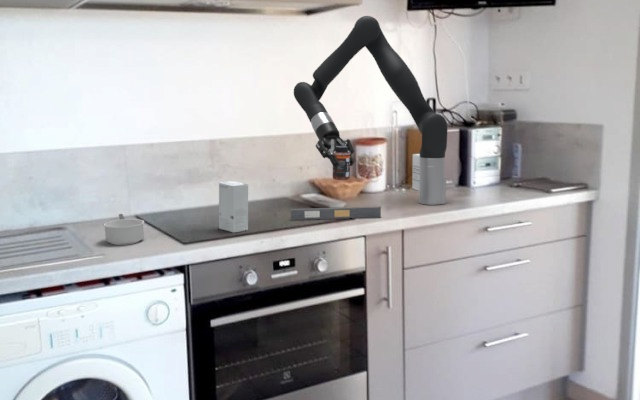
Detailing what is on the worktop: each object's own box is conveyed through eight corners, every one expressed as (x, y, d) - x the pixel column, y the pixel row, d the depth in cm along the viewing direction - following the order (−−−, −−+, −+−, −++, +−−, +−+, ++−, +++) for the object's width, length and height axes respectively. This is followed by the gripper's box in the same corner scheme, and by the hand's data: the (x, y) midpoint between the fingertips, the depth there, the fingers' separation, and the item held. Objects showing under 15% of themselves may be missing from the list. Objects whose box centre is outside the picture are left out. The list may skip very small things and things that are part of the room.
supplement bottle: (352, 180, 220) (353, 147, 217) (336, 180, 218) (336, 147, 215) (345, 177, 225) (346, 145, 223) (330, 178, 223) (330, 145, 221)
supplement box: (430, 187, 274) (431, 152, 272) (441, 190, 266) (441, 154, 263) (411, 188, 272) (412, 153, 269) (421, 192, 263) (421, 155, 260)
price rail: (380, 216, 216) (380, 206, 215) (380, 217, 214) (380, 207, 213) (290, 219, 214) (290, 209, 213) (291, 220, 212) (290, 210, 211)
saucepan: (141, 229, 202) (139, 212, 201) (147, 244, 184) (146, 225, 183) (102, 233, 198) (101, 215, 197) (105, 248, 180) (104, 228, 179)
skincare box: (218, 229, 201) (216, 182, 198) (234, 226, 205) (232, 180, 202) (234, 233, 195) (232, 185, 192) (250, 230, 199) (248, 182, 196)
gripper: (312, 121, 220) (332, 159, 212) (345, 120, 228) (366, 157, 220) (303, 135, 225) (323, 173, 217) (336, 134, 233) (356, 170, 226)
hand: (344, 164), depth 219 cm, fingers closed on supplement bottle, 6 cm apart
